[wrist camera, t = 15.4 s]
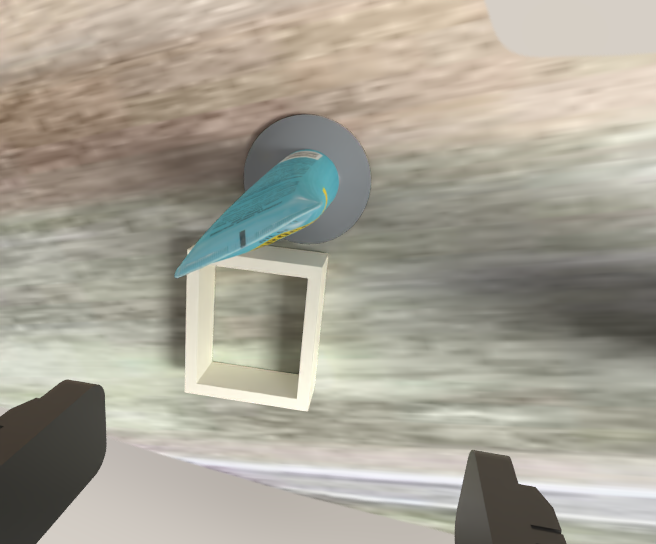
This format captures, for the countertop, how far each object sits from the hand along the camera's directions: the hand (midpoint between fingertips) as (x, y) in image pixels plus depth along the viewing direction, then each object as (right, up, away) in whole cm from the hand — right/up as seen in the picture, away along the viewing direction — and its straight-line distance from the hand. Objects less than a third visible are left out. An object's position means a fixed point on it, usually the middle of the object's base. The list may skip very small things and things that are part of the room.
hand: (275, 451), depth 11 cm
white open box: (-5, 0, +34) cm, 35 cm away
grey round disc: (0, +11, +30) cm, 32 cm away
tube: (0, +11, +30) cm, 32 cm away
